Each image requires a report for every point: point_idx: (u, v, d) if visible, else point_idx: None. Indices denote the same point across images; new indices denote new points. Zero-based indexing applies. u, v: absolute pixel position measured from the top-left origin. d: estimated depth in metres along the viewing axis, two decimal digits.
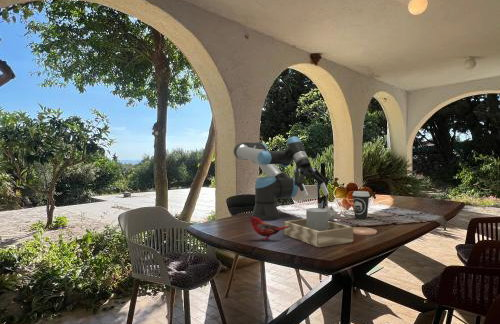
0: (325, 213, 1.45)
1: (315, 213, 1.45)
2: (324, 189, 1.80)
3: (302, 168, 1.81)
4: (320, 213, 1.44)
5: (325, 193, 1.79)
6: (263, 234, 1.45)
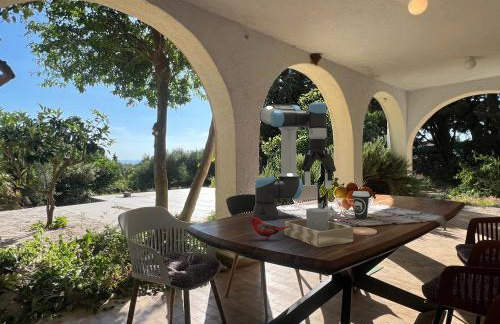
0: (325, 213, 1.45)
1: (315, 213, 1.45)
2: None
3: (311, 150, 1.51)
4: (320, 213, 1.44)
5: None
6: (263, 234, 1.45)
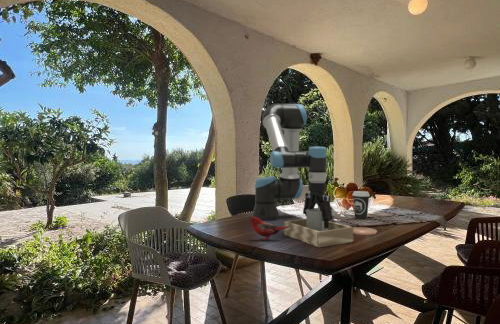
0: None
1: (315, 213, 1.45)
2: None
3: (311, 193, 1.51)
4: (320, 213, 1.44)
5: None
6: (263, 234, 1.45)
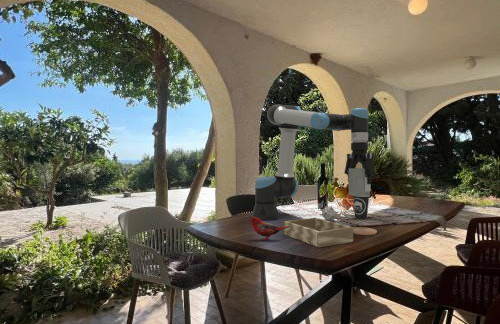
0: None
1: (358, 170, 1.54)
2: None
3: (353, 153, 1.60)
4: (363, 170, 1.53)
5: None
6: (263, 234, 1.44)
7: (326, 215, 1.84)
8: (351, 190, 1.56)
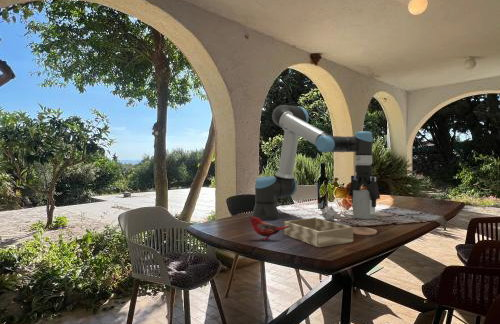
0: None
1: (363, 193, 1.55)
2: None
3: (357, 175, 1.61)
4: (368, 193, 1.55)
5: None
6: (263, 234, 1.45)
7: (326, 215, 1.84)
8: (356, 213, 1.58)
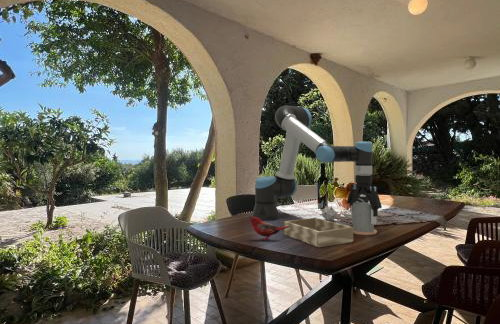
0: None
1: (362, 206, 1.55)
2: None
3: (357, 185, 1.61)
4: (367, 206, 1.55)
5: None
6: (263, 234, 1.45)
7: (326, 215, 1.84)
8: (355, 226, 1.58)
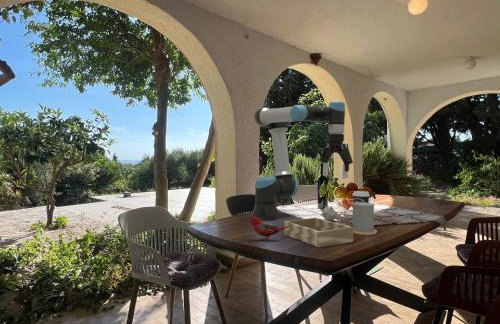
0: (372, 206, 1.56)
1: (363, 206, 1.55)
2: None
3: (330, 144, 1.68)
4: (367, 206, 1.55)
5: None
6: (263, 234, 1.45)
7: (326, 215, 1.84)
8: (355, 226, 1.58)
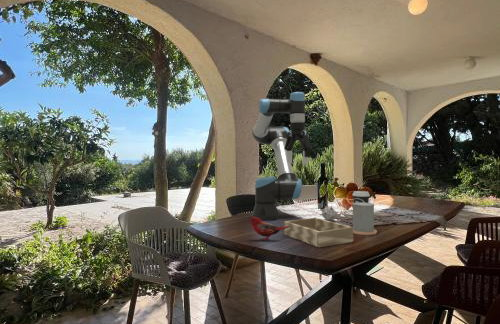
0: (372, 206, 1.56)
1: (363, 206, 1.55)
2: None
3: (292, 132, 1.79)
4: (367, 206, 1.55)
5: None
6: (263, 234, 1.44)
7: (326, 215, 1.84)
8: (355, 226, 1.58)
